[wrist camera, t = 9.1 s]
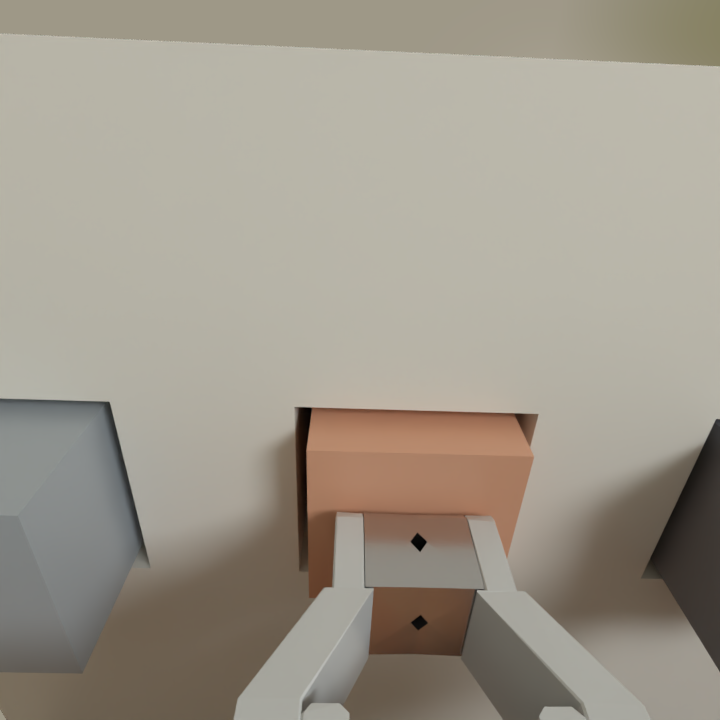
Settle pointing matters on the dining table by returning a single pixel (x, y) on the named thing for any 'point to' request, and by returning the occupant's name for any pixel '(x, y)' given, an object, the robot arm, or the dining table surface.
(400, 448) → the terracotta button
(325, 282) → the control panel
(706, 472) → the charcoal button
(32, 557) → the slate grey button
